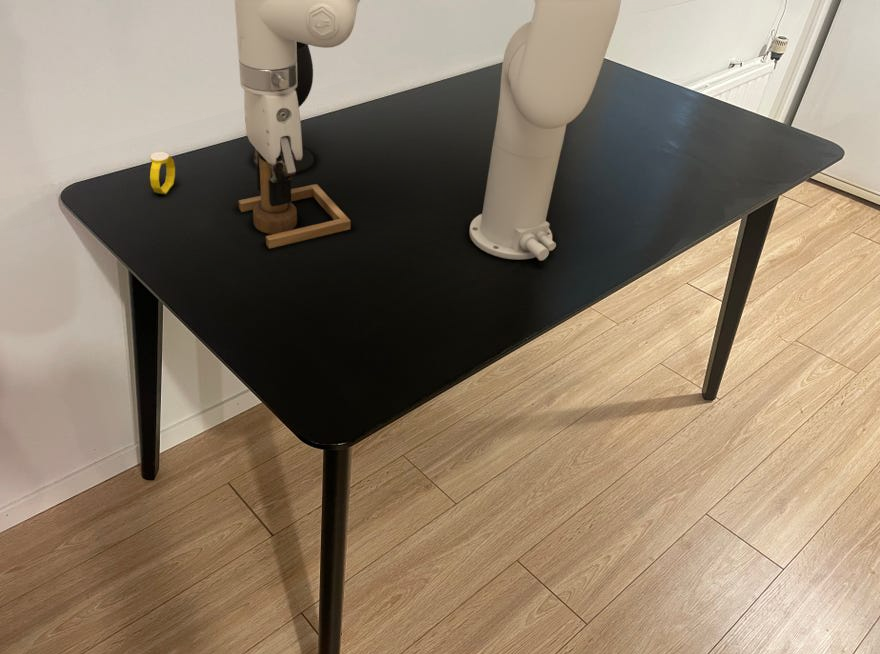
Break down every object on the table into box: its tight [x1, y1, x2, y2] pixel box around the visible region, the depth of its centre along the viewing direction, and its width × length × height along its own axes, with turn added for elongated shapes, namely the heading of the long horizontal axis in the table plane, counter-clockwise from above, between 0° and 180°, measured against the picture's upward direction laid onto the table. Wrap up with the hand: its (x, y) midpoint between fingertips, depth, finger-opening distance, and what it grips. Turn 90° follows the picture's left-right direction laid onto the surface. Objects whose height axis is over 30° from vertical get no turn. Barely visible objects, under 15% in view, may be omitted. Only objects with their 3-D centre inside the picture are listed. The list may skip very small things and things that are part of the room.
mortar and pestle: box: [252, 154, 298, 235], centre depth 112 cm, size 7×6×18 cm
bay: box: [238, 183, 352, 249], centre depth 119 cm, size 12×13×2 cm
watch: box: [149, 151, 176, 195], centre depth 121 cm, size 6×3×6 cm, turn 169°
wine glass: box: [252, 41, 315, 175], centre depth 126 cm, size 10×10×20 cm
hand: (274, 195), depth 115 cm, fingers closed on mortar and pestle, 3 cm apart
